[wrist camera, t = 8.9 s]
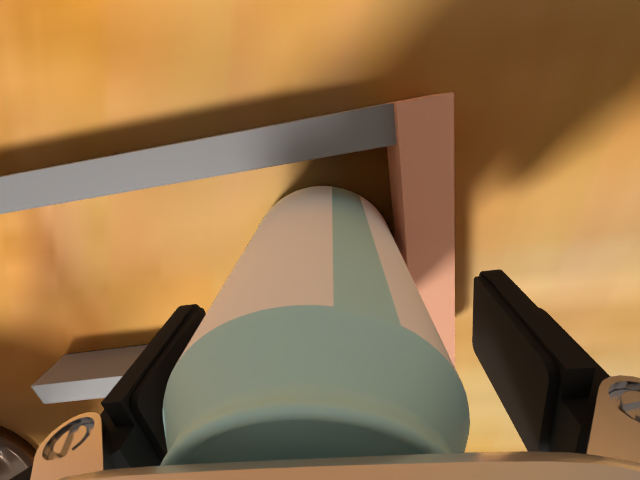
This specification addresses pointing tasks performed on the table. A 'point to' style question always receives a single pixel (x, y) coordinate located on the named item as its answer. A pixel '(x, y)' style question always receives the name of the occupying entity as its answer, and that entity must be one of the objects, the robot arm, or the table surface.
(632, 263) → the table surface
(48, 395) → the track
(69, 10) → the table surface
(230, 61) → the table surface
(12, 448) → the candlestick
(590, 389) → the robot arm
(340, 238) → the can
